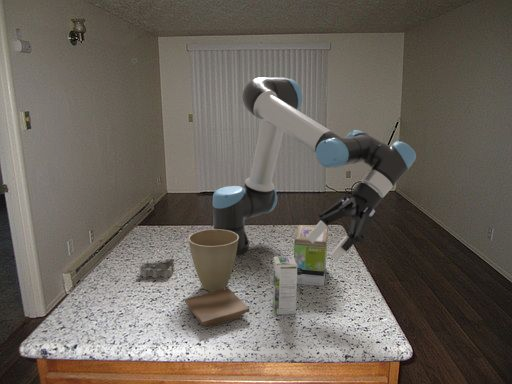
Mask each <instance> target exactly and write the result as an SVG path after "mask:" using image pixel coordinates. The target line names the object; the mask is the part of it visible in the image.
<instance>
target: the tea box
mask: <svg viewBox="0 0 512 384" xmlns="http://www.w3.org/2000/svg"><path fill="white" fill-rule="evenodd" d="M315 226H316V225H305V224H304V225H302V224H299V225H298V227H297V230H296V234H295V237H294V242H293V243H294V245H293V257H294V258H295V260H296V263H297V285H306V286H307V285H308V286H318V287H324V284H325V279H326V278H325V277H326V267H327V266H326V265H327V251H328V229H329V228H328V227H329V226H328V227H327V228H326V229H325V230H324V231H323V233H322V234H321V235H320V236H319V237H318V238H317V239H316V241H315V242H314V243H311V242H310V241H309V240H308V239H307V238H306V237H307V235H308V234H309V233H310V232H311V231H312V230H313V229H314V227H315Z"/></svg>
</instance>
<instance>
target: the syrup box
mask: <svg viewBox="0 0 512 384" xmlns="http://www.w3.org/2000/svg"><path fill="white" fill-rule="evenodd" d="M272 279H273V281H272V307H273V311H274V315H275V316H280V315H282V316H283V315H285V316H286V315H295V314H297V289H298V287H297V285H298V284H297V263H296V260H295V258H294V255H293V256H292V255H279V256H274V257H273V278H272Z"/></svg>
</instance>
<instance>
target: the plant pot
mask: <svg viewBox="0 0 512 384" xmlns="http://www.w3.org/2000/svg"><path fill="white" fill-rule="evenodd" d="M187 239H188V245H189V250H190V254H191V259H192V262H193V266H194V269H195V272H196V275H197V278H198V280H199V283H200V284H201V287H202V289H204V290H206V292H207V291H208V292H214V291H218V290H222V289H226V288H227V286H228V283H229V281H230V278H231V275H232V271H233V269H234V265H235V261H236V256H237V255H236V252H237V246H238V239H239V236H238V235H237V234H236V233H234V232H232V231H228V230H221V229H214V228H212V229H211V228H210V229H203V230H198V231H196V232H193V233H191V234H190V235H189V237H188V238H187Z"/></svg>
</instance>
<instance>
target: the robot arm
mask: <svg viewBox="0 0 512 384" xmlns="http://www.w3.org/2000/svg"><path fill="white" fill-rule="evenodd" d="M241 97H242V102H243V105H244V107H245V109H246V111H248V112H249V114H251V115H253V116H255V117H256V118H257V119H259V120H261V123H260V127H259V132H258V137H257V142H256V147H255V152H254V157H253V161H252V166H251V172H250V176H249V177H247V178H246V179H245V181H244V185H243V186H244V187H242V186H238V185H231V186H230V185H229V186H224V187H221V188H218V189H216V190H215V191H214V192H213V195H212V204H211V205H212V214H213V215H212V217H213V218H212V220H213V229H221V230H228V231H232V232H234V233H236V234H237V235H238V236H239V239H238V246H237V252H236V256H238V255H242V254H245V253H247V252H248V251H249V250H250V241H249V238H248V235H247V233H246V230H245V220H246V219H250V218H254V217H258V216H264V215H266V214H268V213H271V212H272V211H273V210H274V209H275V208H276V206H277V203H278V195H277V190H276V188H275V184H274V182H273V178H274V173H275V170H276V165H277V160H278V157H279V152H280V148H281V144H282V139H283V135H284V133H285V134H286V135H288V136H289V137H291V138H293V139H294V140H295V141H297V142H298V143H300V144H301V145H302V146H304V147H306V148H307V149H308V150H310V151H311V152H313V153H315V157H316V159H317V161H318V163H319V164H320V165H321V167H324V168H333V169H334V168H340V167H343V166H344V167H345V166H349V165H353V164H359V163H364V164H365V165H367V166H369V167H371V169H370V170H369V171H368V172H367V173H366V174H365V175H364V177H363V178H362V179H361V182H359V183H358V184H357V185H356V186H355V187H354V189H352V192H351V194H352V196H351V197H350V198H348V197H347V196H346V195H343V196H342V197H341V198H339V200H338V201H336V202H335V203H333V204H331V205H330V206H329V207H328V208H326V209H325V210H323V211H322V212H320V213H319V214H318V218H319V221H318V222H317V223H316V224H315V225H314V226H315V227H314V229H313V230H312V231H311V232H310V233H309V234H308V235H307V237H306V238H307V239H308V240H309V241H310V242H311V243H314V242H315V241H316V239H317V238H318V237H319V236H320V235H321V234H322V233H323V231H324V230H325V229H326V228H327V227H329V224H331V223H333V222H335V221H337V220H339V219H342V218H344V217H346V218H347V217H349V218H351V221H350V223H351V224H350V227H349V233H347V234H346V235H345V236H344V237H343V238H342V239H341V240H340V242H339V243H338V244H337V245H336V246H335V247H334V248H333V250H332V251H331V252H330V253H329V256H330V257H332V258H333V260H334V261H336V262H338V261H339V260H340V259H341V258H342V257H343V255H344V254H346V252H348V251H349V250H350V248H352V247H353V245H354V244H355V243H360V244H363V243H364V241H365V240H366V237H367V234H368V232H369V230H370V226H371V225H372V221H373V219H375V217H376V215H377V214H378V212H377V211H376V210H375V208H376V207H377V206H378V205H379V203H381V201H382V198H384V197H385V196H386V195H387V194H388V193H389V191H390V190H391V189H392V188H394V186H395V185H396V184H397V183H398V181H399V180H400V179H401V178H402V177H403V176H404V175H405V173H406V172H407V171H409V169H410V168H411V166H412V165H413V163H414V162H415V161H416V159H417V154H416V151H415V150H414V149H413V147H411V146H410V145H409V144H408V143H406V142H404V141H400V140H397V141H395V142H393V143H392V144H391V145H389V144H387V143H384V142H382V141H380V140H379V139H377V138H375V137H374V136H372V135H370V134H368V133H367V132H365V131H361V130H358V129H354V130H352V131H351V132H349V133H348V134H347V135H346V136H345V137H342V136H340V135H338V134H336V133H335V132H334V131H331V130H330V129H329V128H327V127H326V126H324V125H322V124H320V123H319V122H317V121H316V120H314V119H313V118H311V117H309V116H308V115H306V114H304V113H303V112H301V111H299V109H300V107H301V106H302V102H303V93H302V90H301V88H300V85H299V84H298V82H297V81H295V80H294V79H291V78H287V77H264V76H263V77H262V76H261V77H260V76H259V77H255V78H253V79H251V80H250V81H248V82H247V83H246V85H245V86H244V88H243V91H242V96H241Z"/></svg>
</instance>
